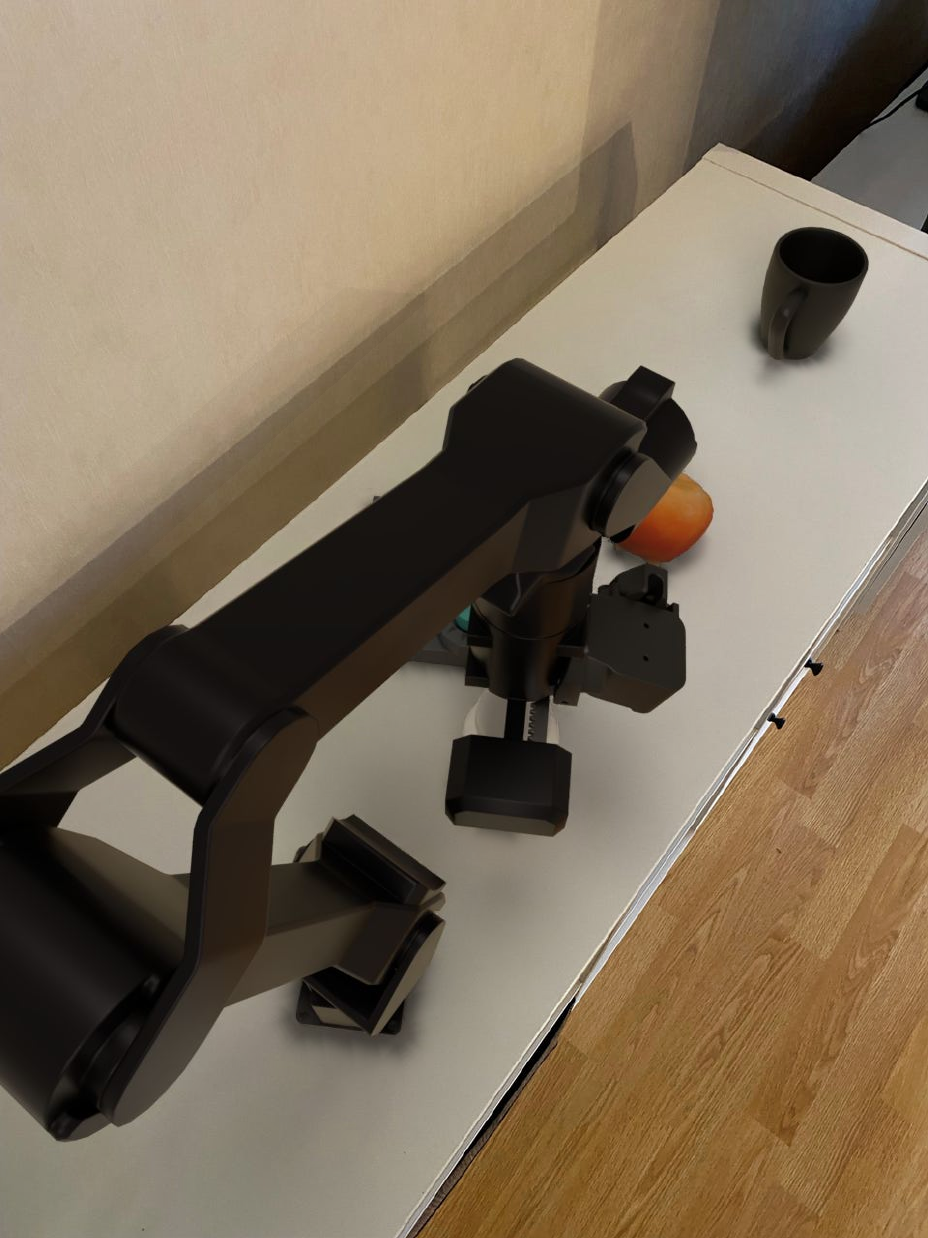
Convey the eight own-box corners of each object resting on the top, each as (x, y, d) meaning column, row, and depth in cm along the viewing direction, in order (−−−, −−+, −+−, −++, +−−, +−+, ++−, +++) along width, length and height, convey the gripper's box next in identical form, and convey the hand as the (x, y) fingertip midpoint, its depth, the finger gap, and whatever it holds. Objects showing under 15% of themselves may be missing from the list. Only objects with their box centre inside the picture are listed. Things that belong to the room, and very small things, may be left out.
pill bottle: (566, 796, 67) (586, 726, 58) (493, 842, 65) (502, 778, 56) (515, 728, 70) (526, 650, 61) (443, 771, 68) (444, 698, 59)
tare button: (491, 635, 71) (491, 624, 69) (453, 631, 71) (453, 619, 69) (494, 603, 72) (495, 591, 71) (457, 599, 72) (457, 587, 71)
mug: (712, 368, 90) (738, 284, 82) (769, 299, 96) (799, 214, 88) (792, 406, 88) (827, 323, 80) (846, 333, 93) (884, 249, 85)
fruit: (579, 559, 76) (612, 466, 73) (605, 531, 83) (637, 445, 79) (674, 600, 74) (714, 507, 71) (694, 567, 81) (730, 481, 77)
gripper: (699, 786, 42) (637, 893, 55) (693, 462, 52) (642, 619, 65) (443, 756, 42) (443, 870, 55) (487, 442, 52) (478, 601, 65)
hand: (510, 730), depth 60 cm, fingers open, 9 cm apart
